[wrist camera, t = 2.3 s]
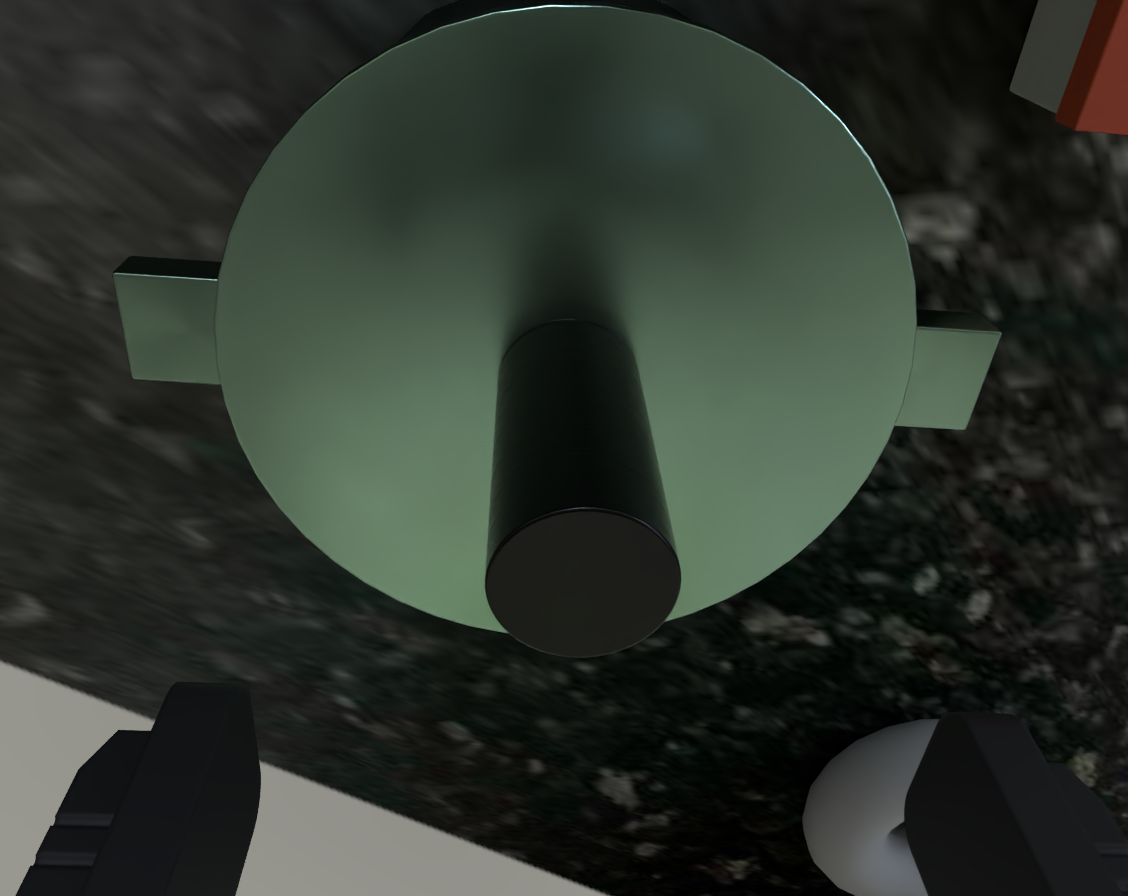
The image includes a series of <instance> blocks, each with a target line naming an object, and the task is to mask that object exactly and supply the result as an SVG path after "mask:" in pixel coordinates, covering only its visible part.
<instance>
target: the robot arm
mask: <svg viewBox="0 0 1128 896" xmlns="http://www.w3.org/2000/svg"><path fill="white" fill-rule="evenodd" d="M260 789H261V772H260V764H259V756H258V749H257V742H256V734H255V727H254V720H253V712H252V705H251V698H250V692H249V689H248V687H247V685H245V684H229V683H202V682H176V683H175V684H174V685H173V686H172V687H171V688H170V690H169V692H168V694H167V696H166V698H165V700H164V702H163V705H162V707H161V709H160V711H159V714H158V716H157V718H156V721H155V723H154V725H153V728H152V730H151V731H135V730H118V731H117V732H116V733H115V734H114V735H113V736H112V737H111V738H110V739H109V740H108V741H107V742H106V743H105V744H104V745H103V746H102V747H101V748H100V749H99V750H98V751H97V752H96V753H95V754H94V755H93V756H92V757H91V758H90V759H89V760H88V761H87V762H86V763H85V764H84V765H82V766H81V767H80V769H78V771H77V773H76V776H75V778H74V780H73V781H72V784H71V786H70V788H69V789H68V792H67V794H66V796H65V798H64V800H63V802H62V804H61V806H60V808H59V810H58V812H57V814H56V816H55V823H54V825H53V826H50V828H49V830H48V832H47V834H46V836H45V838H44V840H43V842H42V844H41V846H40V848H39V850H38V852H37V854H36V860H35V863H34V865H33V866H30V868H29V870H28V872H27V874H26V876H25V878H24V880H23V882H22V884H21V886H20V888H19V890H18V892H17V894H16V896H235V895H236V891H237V888H238V884H239V881H240V877H241V874H242V870H243V867H244V863H245V860H246V856H247V852H248V849H249V846H250V842H251V838H252V835H253V832H254V828H255V824H256V819H257V814H258V808H259V800H260ZM904 823H905V831H906V837H907V841H908V845H909V847H910V850H911V853H912V856H913V858H914V861H915V863H916V866H917V869H918V871H919V874H920V876H921V879H922V882H923V884H924V887H925V889H926V892H927V894H928V896H1128V841H1127V840H1126V838H1125V836H1124V835H1123V833H1122V831H1121V830H1120V828H1119V827H1118V825H1117V823H1116V822H1115V820H1114V818H1113V817H1112V815H1111V814H1110V812H1109V810H1108V809H1107V807H1106V805H1105V804H1104V802H1103V801H1102V800H1101V799H1100V798H1099V797H1098V796H1097V795H1096V794H1095V793H1094V792H1092V791H1091V790H1090V789H1089V788H1088V787H1087V786H1086V785H1085V784H1084V783H1083V782H1082V781H1081V780H1080V779H1079V778H1078V777H1077V776H1076V775H1075V774H1074V773H1073V772H1072V771H1071V770H1070V769H1068V768H1067V767H1066V766H1065V765H1064V764H1063V763H1049V762H1046V760H1045V758H1044V757H1043V755H1042V753H1041V751H1040V750H1039V748H1038V746H1037V744H1036V743H1035V741H1034V739H1033V737H1032V736H1031V734H1030V732H1029V731H1028V729H1027V727H1026V726H1025V724H1024V723H1023V722H1022V721H1021V720H1020V719H1019V718H1017V717H1016V716H1014V715H1012V714H996V713H968V712H947V713H945V714H944V715H942V717H941V718H940V719H939V721H938V723H937V725H936V727H935V730H934V732H933V734H932V736H931V739H930V741H929V743H928V746H927V748H926V750H925V752H924V755H923V757H922V759H921V762H920V764H919V766H918V768H917V771H916V773H915V775H914V778H913V780H912V782H911V784H910V787H909V789H908V792H907V794H906V799H905V806H904Z"/></svg>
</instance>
